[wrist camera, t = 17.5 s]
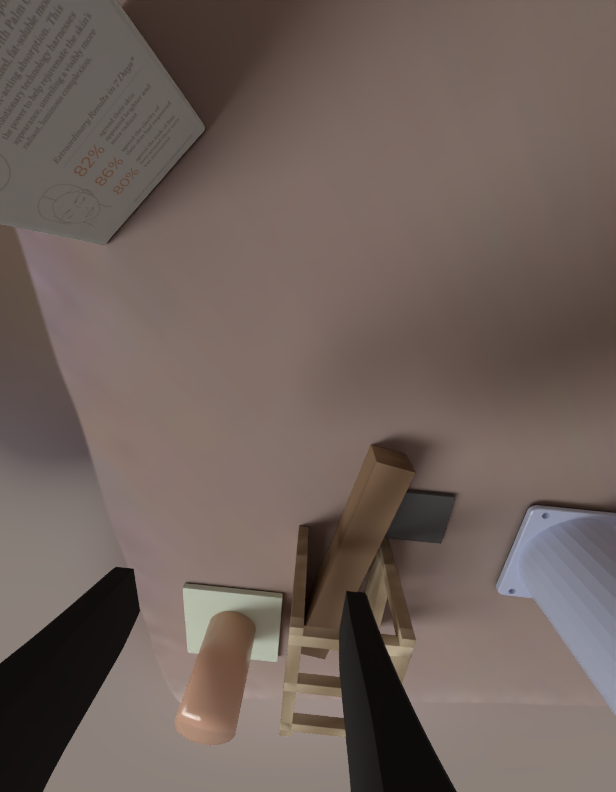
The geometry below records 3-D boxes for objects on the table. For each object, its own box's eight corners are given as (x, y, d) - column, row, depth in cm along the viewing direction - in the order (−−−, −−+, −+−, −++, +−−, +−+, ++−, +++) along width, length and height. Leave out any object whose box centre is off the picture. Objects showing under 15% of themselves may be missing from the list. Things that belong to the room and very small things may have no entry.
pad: (282, 593, 23) (282, 598, 23) (277, 656, 26) (277, 662, 26) (184, 583, 24) (182, 587, 23) (189, 647, 26) (187, 652, 26)
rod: (404, 451, 19) (415, 472, 17) (324, 626, 25) (324, 659, 23) (370, 442, 19) (376, 462, 17) (297, 619, 25) (295, 652, 23)
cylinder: (257, 614, 24) (236, 714, 18) (254, 646, 25) (234, 748, 19) (208, 608, 24) (173, 705, 18) (209, 640, 25) (176, 740, 20)
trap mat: (453, 494, 20) (455, 497, 19) (439, 540, 21) (441, 543, 21) (394, 488, 20) (395, 491, 19) (384, 534, 21) (385, 537, 21)
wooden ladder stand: (387, 534, 21) (415, 639, 15) (365, 627, 24) (382, 746, 18) (299, 526, 21) (289, 627, 15) (290, 619, 24) (279, 735, 18)
